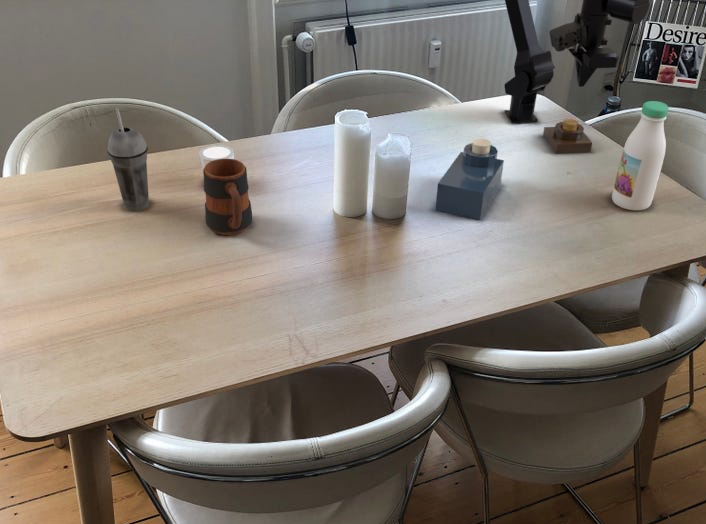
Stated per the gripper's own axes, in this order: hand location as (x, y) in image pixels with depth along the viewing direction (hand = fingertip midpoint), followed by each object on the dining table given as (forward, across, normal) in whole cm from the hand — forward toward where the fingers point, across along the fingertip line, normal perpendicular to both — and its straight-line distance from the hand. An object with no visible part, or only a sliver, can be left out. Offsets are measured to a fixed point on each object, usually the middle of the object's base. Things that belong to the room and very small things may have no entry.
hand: (580, 86), depth 180 cm
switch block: (+12, +3, -2) cm, 13 cm away
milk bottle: (+12, +30, +2) cm, 32 cm away
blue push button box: (+12, +25, -30) cm, 41 cm away
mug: (+12, +32, -77) cm, 84 cm away
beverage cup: (+12, +21, -95) cm, 98 cm away
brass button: (+8, +3, -2) cm, 9 cm away
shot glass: (+12, +14, -79) cm, 81 cm away
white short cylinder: (+4, +20, -27) cm, 34 cm away
